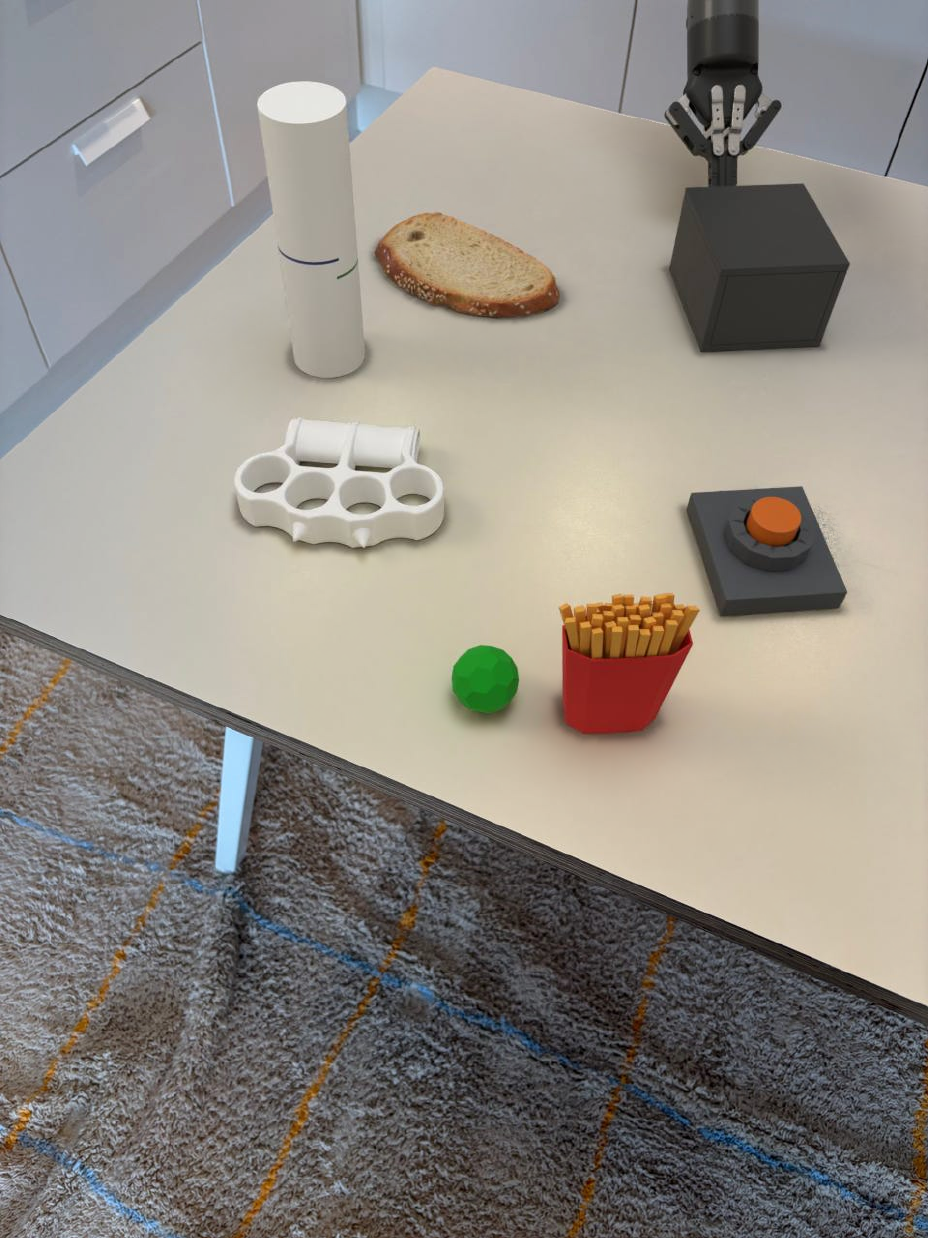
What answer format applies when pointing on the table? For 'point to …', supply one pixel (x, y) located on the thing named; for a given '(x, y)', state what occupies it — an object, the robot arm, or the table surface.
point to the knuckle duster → (342, 484)
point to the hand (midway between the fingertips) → (722, 194)
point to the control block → (763, 556)
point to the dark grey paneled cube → (756, 267)
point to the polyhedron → (485, 679)
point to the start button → (773, 521)
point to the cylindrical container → (314, 223)
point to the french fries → (622, 660)
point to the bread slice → (465, 268)
